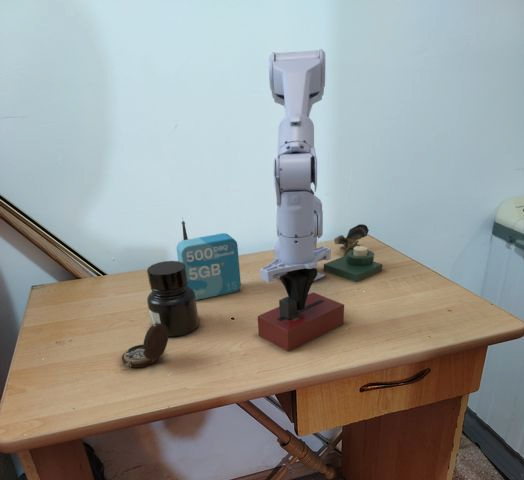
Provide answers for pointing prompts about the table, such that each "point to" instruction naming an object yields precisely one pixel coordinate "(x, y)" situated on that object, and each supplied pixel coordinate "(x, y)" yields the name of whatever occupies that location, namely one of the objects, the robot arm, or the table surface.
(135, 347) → the compass
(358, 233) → the eagle figurine
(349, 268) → the button block
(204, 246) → the data package
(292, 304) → the slider knob
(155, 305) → the ink bottle
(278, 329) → the slider base
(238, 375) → the table surface
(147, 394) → the table surface
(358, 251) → the button
